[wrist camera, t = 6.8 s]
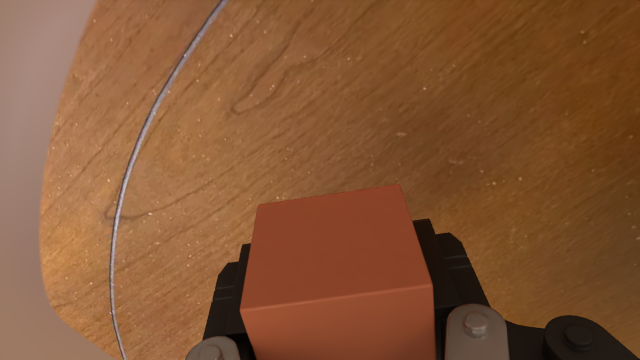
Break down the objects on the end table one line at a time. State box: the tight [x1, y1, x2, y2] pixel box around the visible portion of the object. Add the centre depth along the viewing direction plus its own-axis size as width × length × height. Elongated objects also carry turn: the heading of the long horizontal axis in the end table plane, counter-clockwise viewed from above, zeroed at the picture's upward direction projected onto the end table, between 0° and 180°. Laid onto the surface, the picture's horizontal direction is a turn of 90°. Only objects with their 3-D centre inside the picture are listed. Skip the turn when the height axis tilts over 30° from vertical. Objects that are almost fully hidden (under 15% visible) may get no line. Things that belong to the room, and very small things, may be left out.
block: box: [240, 184, 437, 360], centre depth 13 cm, size 4×4×4 cm
